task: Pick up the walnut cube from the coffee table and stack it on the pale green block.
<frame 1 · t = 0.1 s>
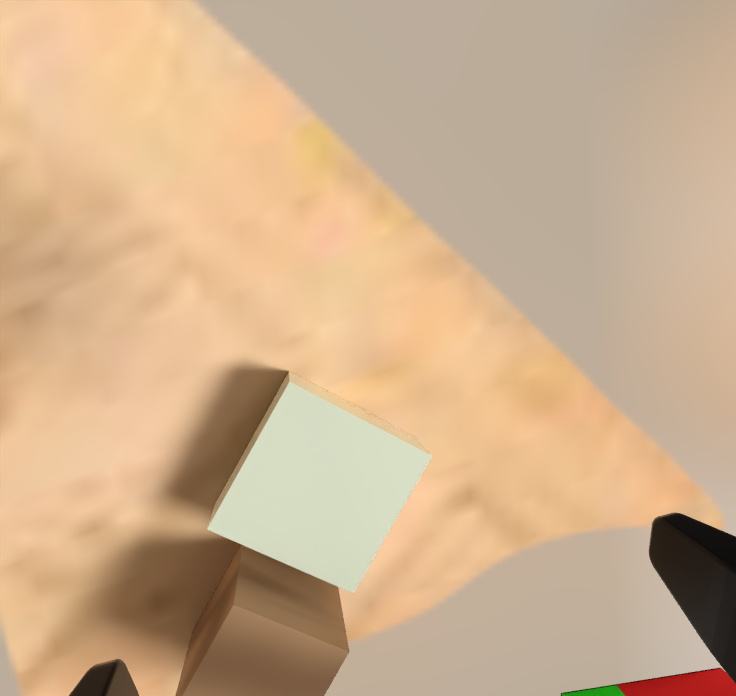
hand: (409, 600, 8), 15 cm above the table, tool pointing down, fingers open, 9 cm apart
walnut cube: (266, 603, 24), on the table
pale green block: (318, 470, 24), on the table
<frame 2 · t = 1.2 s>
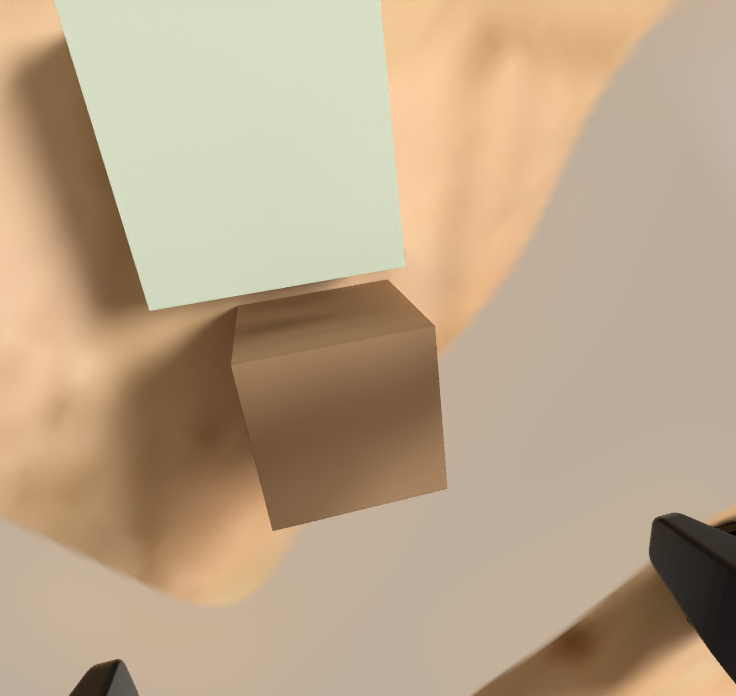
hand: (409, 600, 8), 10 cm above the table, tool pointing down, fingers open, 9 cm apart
walnut cube: (325, 360, 18), on the table
pale green block: (255, 151, 15), on the table
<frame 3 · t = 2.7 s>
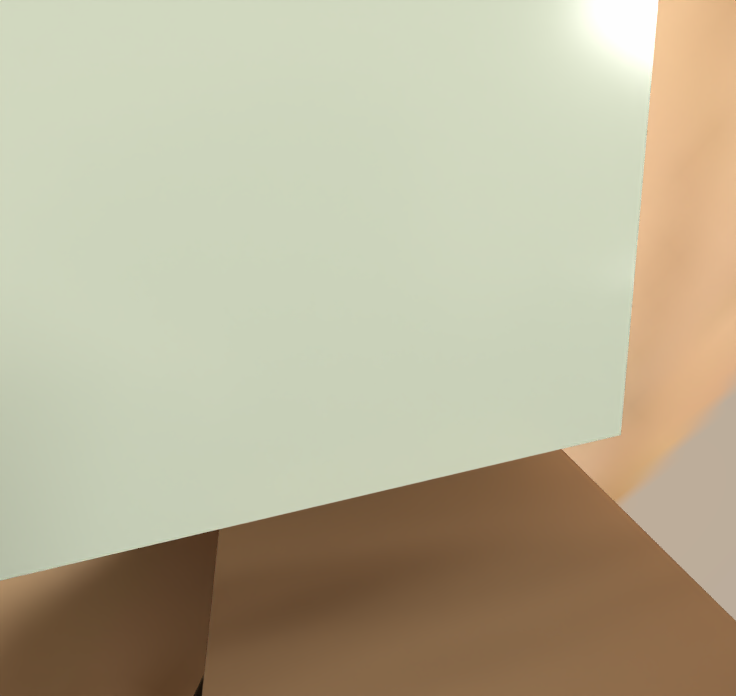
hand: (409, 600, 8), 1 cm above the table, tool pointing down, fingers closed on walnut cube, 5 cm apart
walnut cube: (394, 554, 9), on the table, touching gripper
pale green block: (261, 157, 6), on the table
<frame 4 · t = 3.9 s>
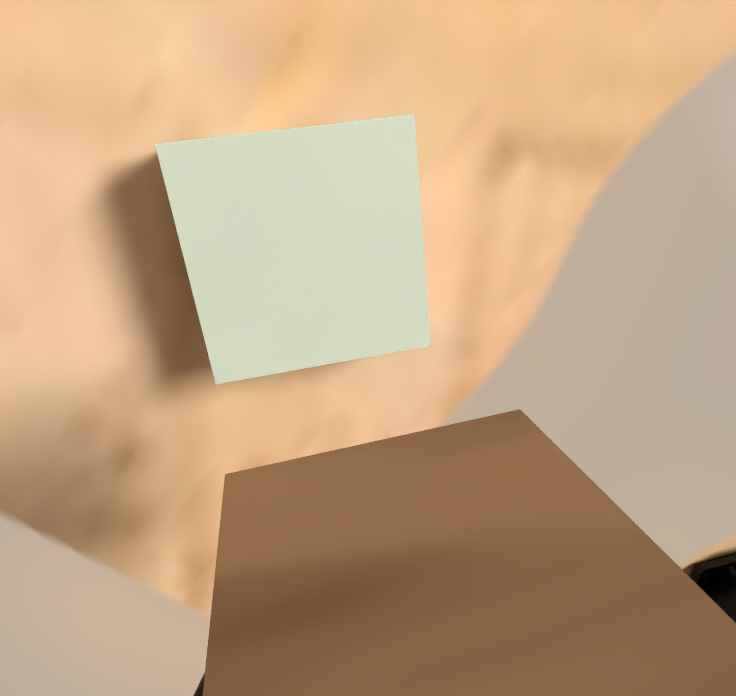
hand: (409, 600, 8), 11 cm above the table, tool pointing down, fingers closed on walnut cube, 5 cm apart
walnut cube: (394, 555, 9), point 10 cm above the table, touching gripper
pale green block: (303, 243, 17), on the table
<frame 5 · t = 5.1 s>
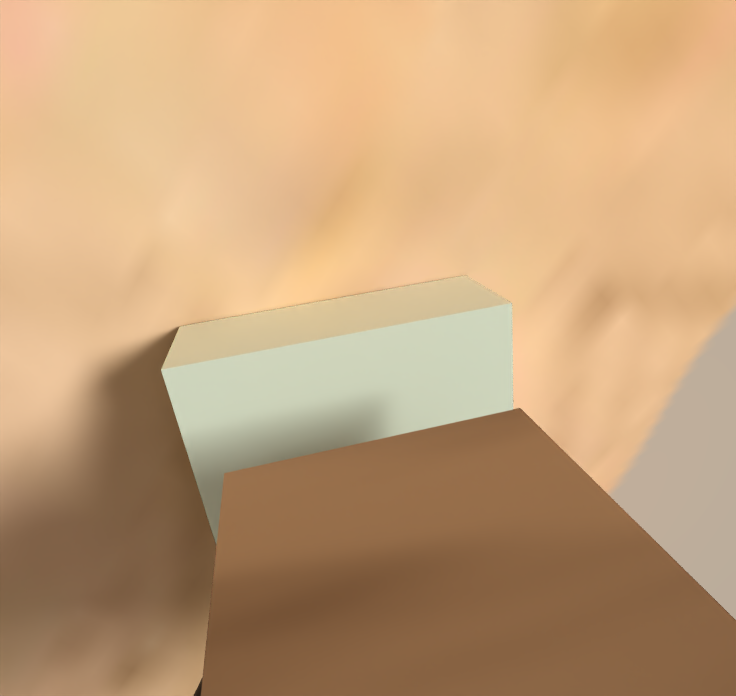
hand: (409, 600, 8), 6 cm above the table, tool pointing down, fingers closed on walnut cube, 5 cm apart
walnut cube: (393, 554, 9), point 5 cm above the table, touching gripper
pale green block: (348, 423, 13), on the table
when the fingers open (5 cm above the table, at t = 5.6 s): walnut cube drops 1 cm, resting on pale green block.
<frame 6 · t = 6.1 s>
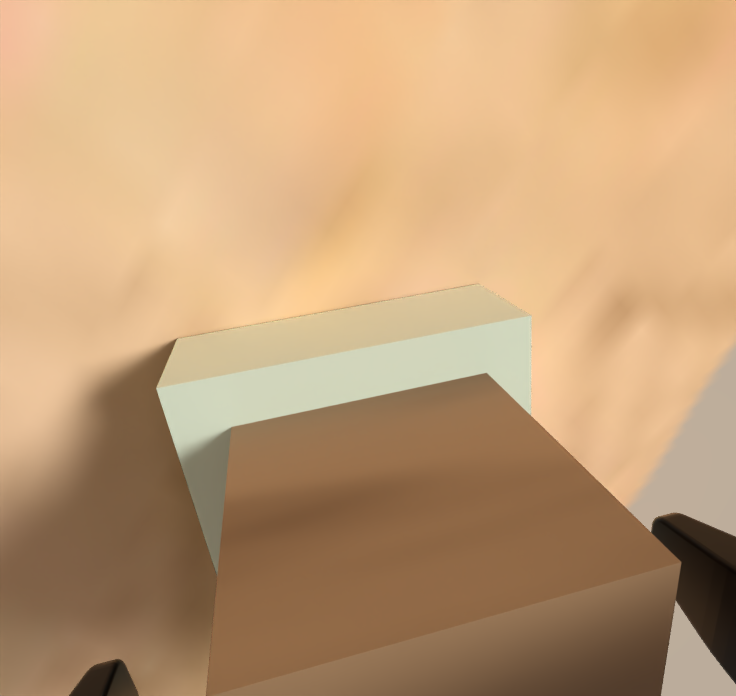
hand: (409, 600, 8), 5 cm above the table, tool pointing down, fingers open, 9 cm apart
walnut cube: (379, 502, 11), point 2 cm above the table, touching pale green block
pale green block: (354, 439, 13), on the table
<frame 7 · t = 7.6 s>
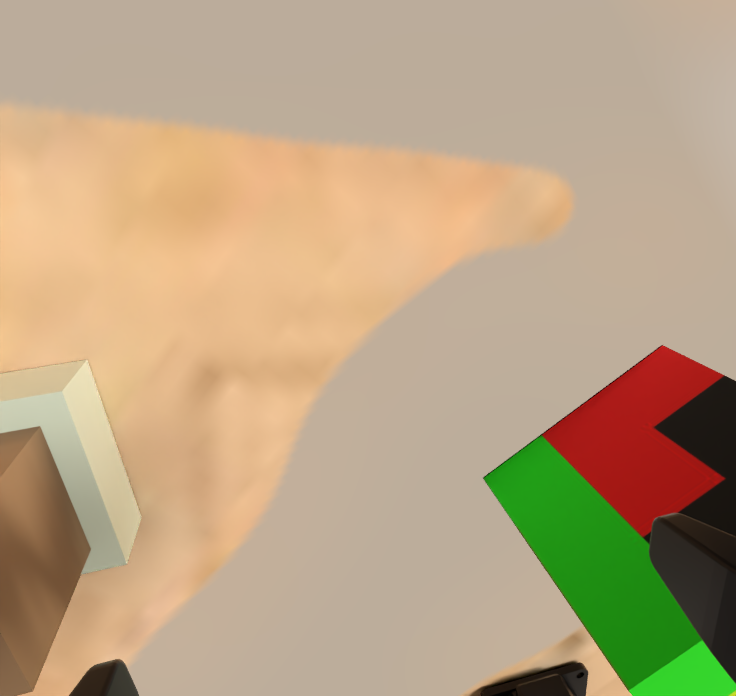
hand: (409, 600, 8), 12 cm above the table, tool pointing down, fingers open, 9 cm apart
pale green block: (15, 462, 18), on the table
puzzle toy: (610, 475, 25), on the table
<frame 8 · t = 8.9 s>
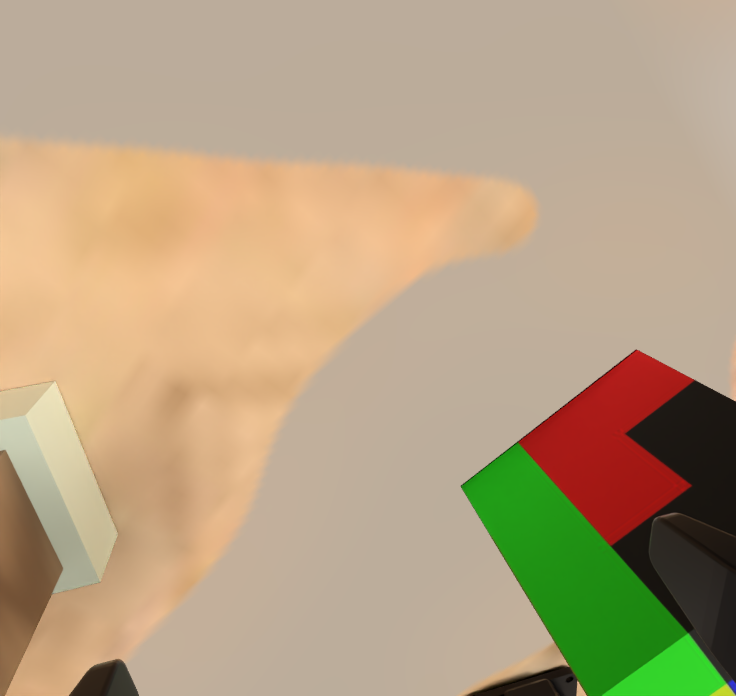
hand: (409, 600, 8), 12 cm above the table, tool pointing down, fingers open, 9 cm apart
puzzle toy: (590, 479, 25), on the table
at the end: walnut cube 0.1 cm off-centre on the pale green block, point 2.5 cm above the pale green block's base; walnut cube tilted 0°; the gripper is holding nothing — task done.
